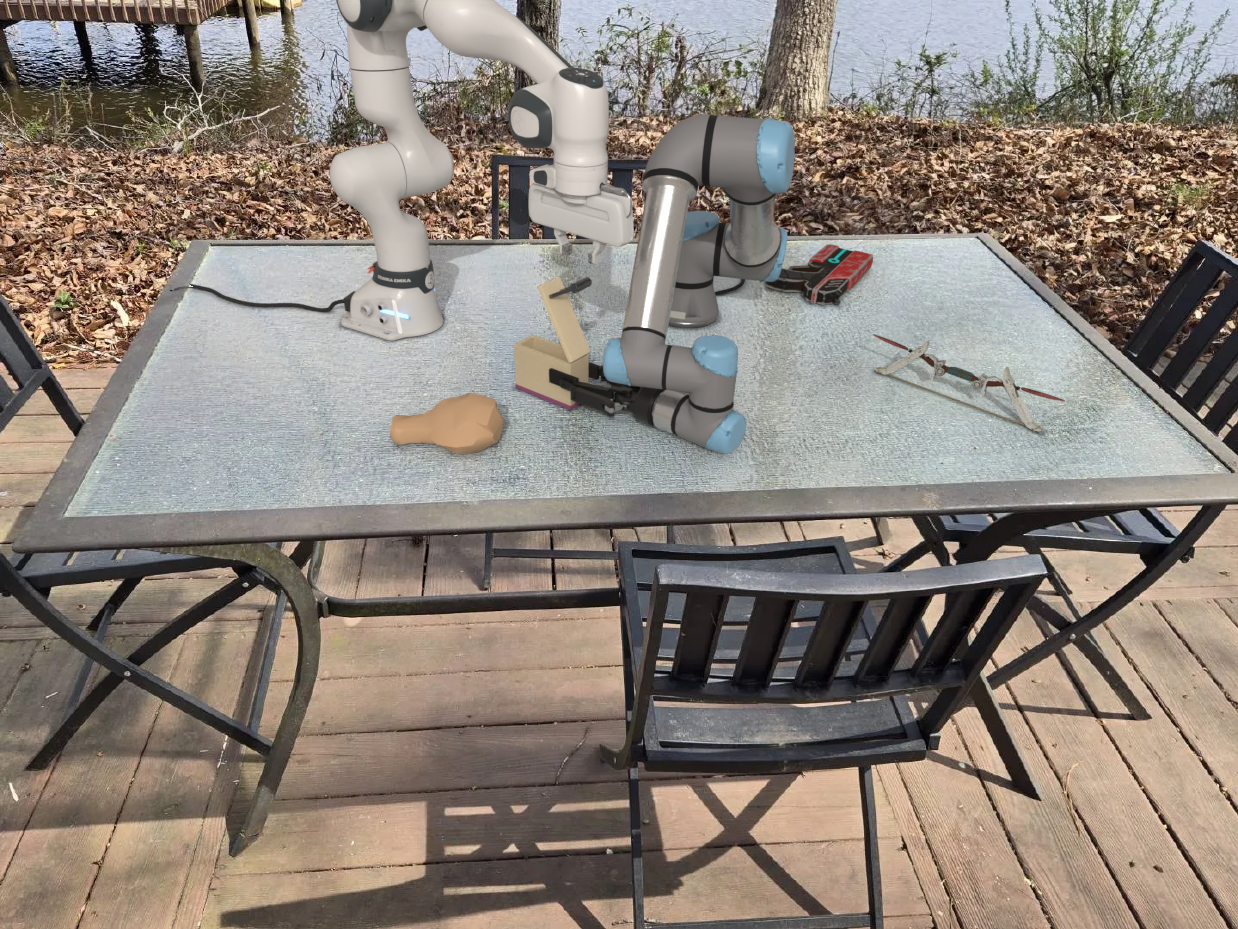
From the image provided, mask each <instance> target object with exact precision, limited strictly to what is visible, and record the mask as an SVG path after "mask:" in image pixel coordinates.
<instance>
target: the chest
mask: <svg viewBox="0 0 1238 929" xmlns="http://www.w3.org/2000/svg"><path fill="white" fill-rule="evenodd" d="M513 353H514V356H513V357H514V376H515V378H514V379H515V389H517V390H518V391H522V392H523V393H527V394H528V395H532V396H533V397H537V398H539V399H541V400H544V401H546V402H548V403H551V404H554V405H556V406H558V407H561V408H563V409H566V410H569V411H572V410H574V409H575V408H577V407H579V406H581V404H580V403H577V402H575V401H572V400H571V394H570V391H568V390H566V389H563V388H561V387H560V386H558V385H555V384H553V383H550V382H549V369H550V368H553V369H556V370H558V371H561V372H564V373H566V374H569V375H572V376H574V377H577V378H579V382H584V383H589V377H588V373H589V360H590V356H589V353H587V354H585V355H584V356H582V357H580V358H578V359H577V360H575V361H573V362H570V363H569V362H568V360H567V357H566V355H565V353H564V350H563V348H562V346H561V343H557V342H554V341H552V340H548V339H545V338H543V337H540V336H537V335H536V334H535V335H534V334H532V335H529V336H528V337H526V338H524V339H522V340H519V341H517V342H515V343H514V344H513Z"/></svg>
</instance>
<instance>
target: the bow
mask: <svg viewBox="0 0 1238 929" xmlns="http://www.w3.org/2000/svg"><path fill="white" fill-rule="evenodd" d="M872 336H873V337H875V338H877V339H879V340H880V341H883V342H884V343H887V344H889V345H891V346H894V347H896V348H898V349H901V350H904V351H908V353H909V355H907V356H904V357H901V358H900V359H898V360H896V361H894V362H892V363H891V364H890V365H889V366H887V367H886V366H884V367H883V366H882V367H881V366H876V367H875V368H874V371H875V372H876V373H878V374H880V375H884V376H885V375H887V376H889V377H892V378H895V379H898V380H900V381H902V382H906V383H908V384H910V385H914V386H916V387H919V388H922V389H925V390H926V391H930V392H932V393H935V394H938V395H940V396H943V397H946V398H949V399H951V400H953V401H957V402H959V403H962V404H966V405H967V406H971V407H973V408H976V409H979V410H982V411H984V412H987V413H990V414H992V415H995V416H998V417H1000V418H1003V419H1005V420H1008V421H1011V422H1014V423H1016V424H1019V425H1022V426H1025V427H1026V428H1027V429H1029V430H1031V431H1034V432H1041V431H1042V430H1043V429H1044V427H1042V426H1041V424H1040V425H1039V424H1038V423H1037V422H1036V421H1034V420H1033V419H1032V416H1031V413H1030V410H1029V409H1028V407H1027V404H1026V403H1025V401H1024V400H1023V398H1022V397H1021V396H1020V394H1019V392H1018V391H1020V390H1021V391H1022V392H1025V393H1028V394H1030V395H1033V396H1037V397H1041V398H1043V399H1044V398H1045V399H1047V400H1052V401H1057V402H1058V401H1059V402H1065V401H1066V399H1063V398H1060V397H1057V396H1055V395H1051V394H1050V393H1049V394H1048V393H1046V392H1042V391H1040V390H1036V389H1032V388H1028V387H1023V386H1022V387H1021V386H1018V385H1016V383H1015V382H1016V381H1015V379H1014V378H1013V376H1012V375H1011V370H1010V367H1009V366H1006V367H1004V369H1003V372H1002V375H1001V378H1000V377H999V376H994V375H993V376H988V375H987V374H986V373H985V372H983V373H981V374H980V375H979V376H976V375H975V374H974V373H972V371H969V370H966V369H963V368H961V367H957V366H948V365H946V364H947V359H938V357H937V356H936V355H934V354H931V353H926V352H927V351H928V350H929V346H930V343H931V341H930V340H929V339H927V340H926V341H924V343H923V344H922V345H920V346H918V347H916V348H915V349H912V348H909V347H908V346H906V345H903V344H901V343H898V342H897V341H894V340H892V339H889V338H886V337H883V336H880V335H878V334H874V333H873V334H872ZM921 359H922V360H923V361H924V362H925V363H926V364H928V365H929V367H931V368H932V372H931V373H930V375H929V376H928V377H929V379H931V380H934V379H936V378H937V377H936V376H939V377H943V376H945V375H946V374H948V375H951V376H953V377H957V378H959V379H962V380H964V381H967V382H971V383H972V387H973V388H974V389H975V390H979V391H980V392H979V394H980V395H979V397H981V398H983V399H984V398H985V397H987V396H988V395H987V393H988V390H987V388H988V387H990V388H998V387H1001V388H1003V389H1004V391H1005V392H1006V394H1007V396H1008V397H1009V398H1010V401H1011V402H1012V405H1013V407H1014V409H1015V410H1016V412H1017V416H1018V418H1020V420H1021V422H1019V421H1017V420H1014V419H1011V418H1009V417H1005V416H1003V415H1000V414H997V413H995V412H993V411H990V410H987V409H985V408H981V407H979V406H976V405H974V404H970V403H968V402H965V401H962V400H959V399H957V398H954V397H951V396H948V395H946V394H943V393H941V392H938V391H935V390H933V389H930V388H928V387H924V386H922V385H920V384H916V383H913V382H911V381H908V380H906V379H903V378H900V377H897V376H895V375H892V374H893V373H894V372H898V371H900V370H901V369H903V368H904V367H906V366H908V365H910V364H912V363H914V362H916V361H918V360H921Z"/></svg>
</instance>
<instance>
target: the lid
mask: <svg viewBox="0 0 1238 929" xmlns="http://www.w3.org/2000/svg"><path fill="white" fill-rule="evenodd" d="M592 284H593V281H592V279H591V277H590V276H585V277H583V278H581V279H579V280H577V281H575V282H574V281H573V283H571V284H570V285H569V286H566V287H565V285H564V283H563V281H562V278H561V277H560V276H557V277H555V278H553V279H550V280H549V281H546V282H544V283H542V284H540V285H537V287H536V288H537V290H538V293H539V295H540V298H541V300H542V302H543V305H544V307H545V310H546V313H547V315H548V317H549V319H550V321H551V324H552V327H553V329H554V331H555V333H556V336H557V339H558V341H559V344H560V345H561V346H562V348H563V350H564V353H565V355H566V357H567V360H568V362H569V363H570V362H573V361H575V360H577V359H578V358H580V357H582V356H584V355H585V354H590V352H591V349H590V346H589V343H588V341H587V339H586V337H585V334H584V331H583V329H582V327H581V324H580V322H579V320H578V317H577V315H576V312H575V310H574V307H573V305H572V302H571V301H570V298H569V295H568V294H569V293H572V294H578V293H579V292H582V291H583V290H586V289H587V288H590V287H591V286H592Z"/></svg>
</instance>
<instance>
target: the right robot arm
mask: <svg viewBox="0 0 1238 929" xmlns="http://www.w3.org/2000/svg"><path fill="white" fill-rule="evenodd" d="M795 148H796V136H795V130H794V128H793V126H792V124H791V123H790V122H789V121H785V120H777V119H775V118H773V117H772V118H771V117H770V118H756V117H755V118H754V117H741V116H729V115H715V114H710V113H702V114H695V115H693V116H690V117H687V118H685V119H683V120H681V121H680V122H678V123H677V124H675V125H674V126H673V127H672V128H670V129H669V130H668V131H667V132H666V133H665V134H664V135H663V137H661V139H660V140H659V142H658V143H657V144H656V146H655V148H654V149H653V151H652V152H651V155H650V156H649V158H648V161H647V163H646V166H645V168H644V171H643V172H644V173H643V178H642V183H641V189H642V191H643V193H644V194H645V199H644V205H643V211H642V215H641V216H642V218H641V222H640V227H639V233H638V239H637V245H636V251H635V256H634V262H633V268H632V274H631V278H630V285H629V291H628V294H627V295H628V296H627V301H626V307H625V313H624V318H623V324H622V329H621V330H622V332H621V336H620V337H611V338H610V339H609V340H608V341H607V343H606V345H605V349H604V352H603V358H602V359H603V360H602V365H600V364H597V363H594V362H589V373H588V378H589V379H593V380H595V381H598V380H599V379H600V383H604V382H605V383H607V384H608V385H610V386H609V387H608V386H604V385H599V384H594V383H590V382H588V383H584V382H579V378H577V377H574V376H572V375H569V374H566V373H564V372H561V371H558V370H556V369H553V368H550V369H549V382H550V383H553V384H555V385H558V386H560V387H561V388H563V389H566V390H568V391H570V394H571V400H572V401H575V402H577V403H580V405H583V406H586V407H588V408H591V409H593V410H597V411H599V412H601V413H602V412H603V414H604V415H606V416H607V417H610V418H611V417H615V412H617V411H618V412H619V411H622V412H626V413H627V412H628V413H631V414H632V415H633V416H634V418H635V419H636V421H638V422H640V423H643V424H645V425H648V426H650V427H655V428H656V429H658V430H661V431H663V432H666V433H669V434H672V435H674V436H676V437H679V438H681V439H684V440H685V441H688V442H691V443H694V445H695V444H696V445H698V446H700V447H703V448H705V450H710V451H713V452H716V453H721V454H724V455H729V454H732V453H733V452H734V451H736V450H737V449H738V448H739V447H740V445H741V443H742V442H743V439H744V437H745V434H746V431H747V421H746V419H747V418H746V416H745V415H744V414H742V413H740V412H739V411H738V410H734V405H735V403H734V399H735V390H736V383H737V377H738V376H737V375H738V369H739V367H738V361H739V360H738V359H739V348H738V346H737V343H735V342H734V340H732V339H730V338H729V337H727V336H723V335H718V334H712V335H702V336H700V337H697V338H696V339H695V340H694V342H693V344H692V347H690V346H680V345H675V344H674V345H673V344H666V340H667V336H668V330H669V326H671V327H675V328H680V329H681V328H682V329H697V328H704V327H707V326H710V325H713V324H714V323H715V322H716V321H717V320H718V319H719V304H718V300H717V296H719V295H720V296H721V295H724V294H729V293H732V292H735V291H737V290H739V289H741V288H742V287H743V285H744V284H745V282H746V280H747V281H757V282H760V283H765V281H767V282H773V281H776V280H777V279H778V277H779V275H780V273H781V269H782V268H783V264H784V262H785V261H784V260H785V256H786V251H787V244H788V230H787V229H786V228H783V227H780V226H778V225H777V224H776V222H775V202H776V196H777V195H779V194H784V193H786V192H788V190H789V189H790V187H791V185H792V180H793V175H794V169H795V157H796V155H795V154H796V153H795ZM700 186H703V187H711V188H721V189H722V192H723V193H724V195H725V196H726V197H727V198H728V199H729V201H728V202H729V216H730V217H729V218H730V222H721V221H720V220H721V219H720V217H719V215H718V214H717V213H716V212H711V211H709V210H691V211H689V206H690V202H692V201H693V200H695V199H696V197H697V195H698V189H699V187H700ZM715 277H719V278H728V279H738V280H740V281H739V283H738V284H736V285H735V286H732V287H728V288H726V289H721V290H716V291H715V287H714V278H715Z"/></svg>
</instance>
